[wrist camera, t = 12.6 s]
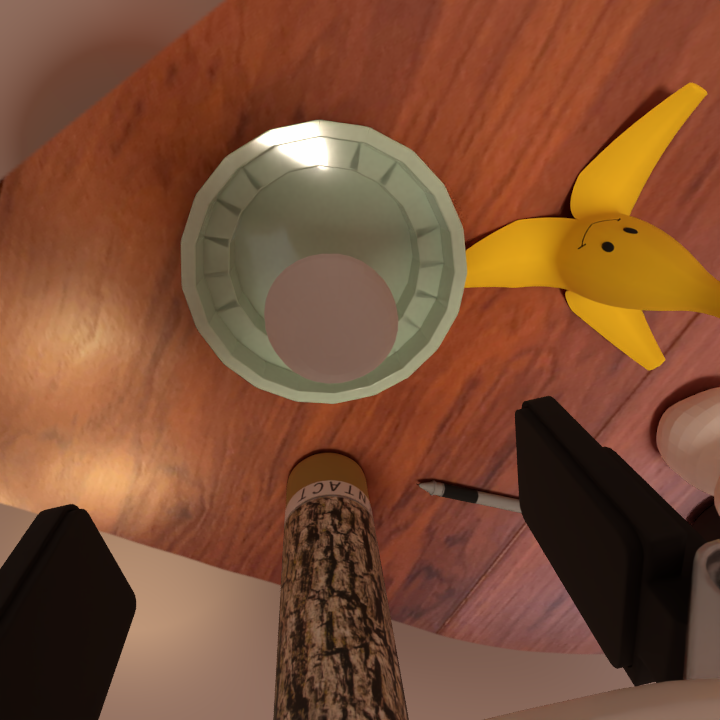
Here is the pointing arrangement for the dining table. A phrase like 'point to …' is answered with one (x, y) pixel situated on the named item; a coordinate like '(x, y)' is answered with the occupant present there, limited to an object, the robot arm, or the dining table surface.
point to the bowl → (321, 246)
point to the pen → (471, 496)
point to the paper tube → (334, 602)
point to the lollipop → (331, 318)
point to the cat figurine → (693, 441)
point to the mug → (708, 524)
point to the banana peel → (608, 243)
